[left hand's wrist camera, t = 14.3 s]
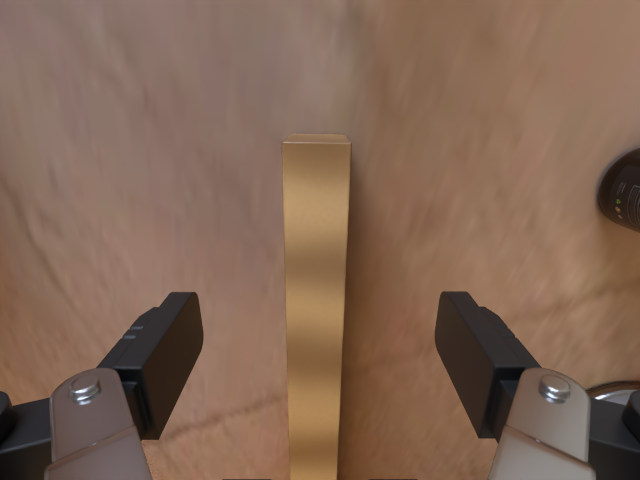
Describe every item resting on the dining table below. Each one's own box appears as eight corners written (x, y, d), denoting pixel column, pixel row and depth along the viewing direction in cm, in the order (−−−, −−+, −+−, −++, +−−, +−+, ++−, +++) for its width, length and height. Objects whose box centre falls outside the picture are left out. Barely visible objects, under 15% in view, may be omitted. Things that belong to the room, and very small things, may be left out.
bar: (291, 133, 29) (281, 141, 22) (345, 134, 29) (351, 142, 22) (297, 541, 48) (293, 612, 41) (329, 542, 48) (330, 613, 41)
